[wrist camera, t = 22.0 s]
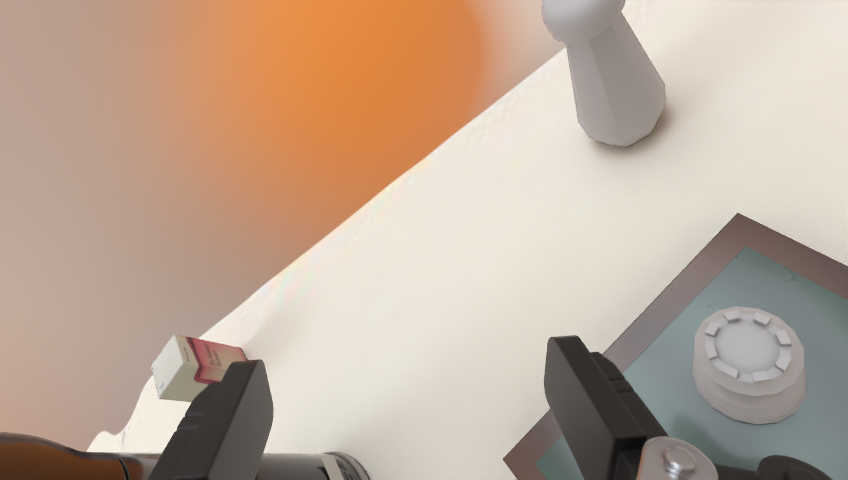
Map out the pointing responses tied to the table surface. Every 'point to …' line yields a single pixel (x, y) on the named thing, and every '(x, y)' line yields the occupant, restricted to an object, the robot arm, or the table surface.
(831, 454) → the desk board
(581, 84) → the salt shaker
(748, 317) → the rook chess piece
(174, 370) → the small box
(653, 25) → the table surface
